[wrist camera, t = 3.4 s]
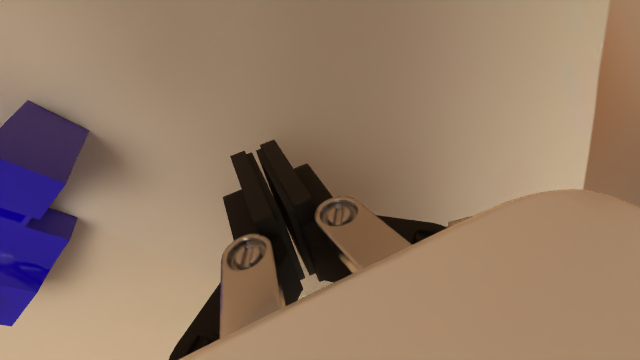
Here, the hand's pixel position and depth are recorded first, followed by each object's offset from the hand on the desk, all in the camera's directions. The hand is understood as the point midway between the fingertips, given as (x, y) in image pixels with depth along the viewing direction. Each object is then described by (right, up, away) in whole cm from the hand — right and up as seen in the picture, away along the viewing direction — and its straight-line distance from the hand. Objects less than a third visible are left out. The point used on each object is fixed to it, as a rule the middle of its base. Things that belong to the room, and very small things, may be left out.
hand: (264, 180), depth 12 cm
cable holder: (-10, -1, +1) cm, 10 cm away
